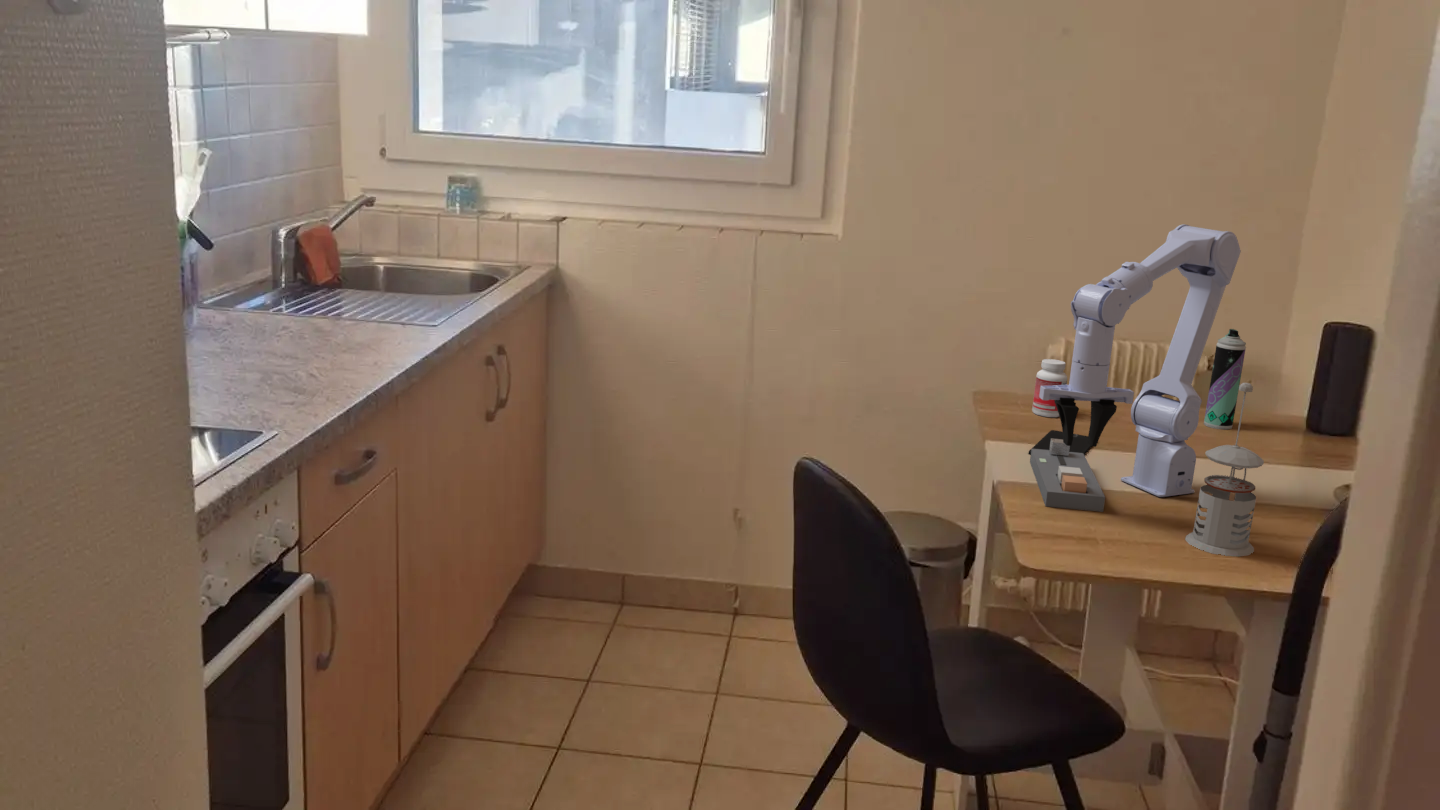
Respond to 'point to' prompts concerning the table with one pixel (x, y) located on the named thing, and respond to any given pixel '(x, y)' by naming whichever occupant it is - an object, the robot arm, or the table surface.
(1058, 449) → the toggle knob
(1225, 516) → the french press
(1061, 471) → the grey button
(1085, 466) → the switch panel
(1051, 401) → the pill bottle
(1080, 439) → the cell phone
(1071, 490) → the orange button
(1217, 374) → the spray can
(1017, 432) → the table surface
